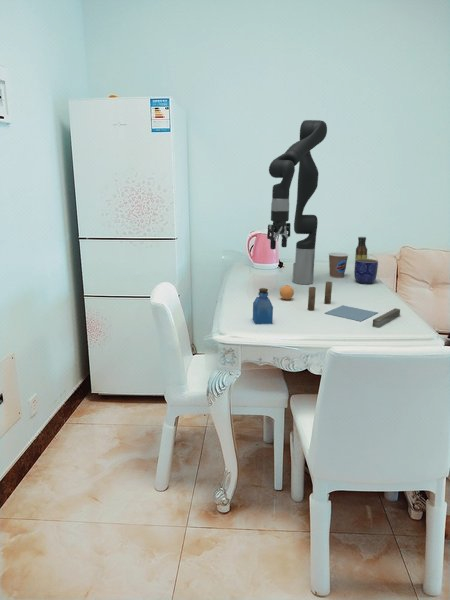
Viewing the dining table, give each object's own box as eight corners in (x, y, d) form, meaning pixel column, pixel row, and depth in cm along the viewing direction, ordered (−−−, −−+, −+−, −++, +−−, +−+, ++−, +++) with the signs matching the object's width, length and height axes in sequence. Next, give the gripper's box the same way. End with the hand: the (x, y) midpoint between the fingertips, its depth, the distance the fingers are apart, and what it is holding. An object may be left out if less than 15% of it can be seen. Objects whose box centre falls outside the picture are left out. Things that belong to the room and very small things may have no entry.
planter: (379, 282, 232) (382, 260, 229) (369, 286, 224) (372, 263, 221) (359, 279, 239) (361, 257, 236) (349, 282, 231) (351, 260, 228)
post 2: (323, 303, 192) (324, 282, 190) (326, 302, 194) (327, 281, 192) (328, 304, 191) (330, 283, 188) (331, 303, 192) (333, 282, 190)
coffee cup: (335, 279, 238) (337, 256, 235) (322, 275, 247) (324, 253, 243) (351, 277, 242) (352, 254, 239) (337, 273, 251) (339, 252, 248)
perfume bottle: (252, 319, 170) (253, 287, 167) (269, 318, 171) (270, 287, 168) (255, 324, 164) (256, 291, 161) (272, 323, 165) (273, 291, 162)
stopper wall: (372, 326, 163) (373, 319, 163) (394, 314, 178) (395, 308, 177) (377, 327, 162) (378, 320, 161) (399, 315, 177) (400, 309, 176)
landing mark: (324, 313, 178) (324, 312, 178) (342, 305, 189) (342, 305, 189) (360, 321, 168) (360, 321, 168) (378, 313, 179) (378, 312, 179)
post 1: (306, 309, 183) (307, 287, 180) (309, 308, 185) (311, 286, 182) (312, 310, 181) (313, 288, 179) (315, 309, 183) (317, 287, 181)
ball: (276, 299, 197) (277, 285, 196) (284, 296, 202) (285, 283, 200) (288, 301, 194) (289, 288, 192) (296, 299, 198) (296, 285, 196)
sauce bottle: (366, 272, 255) (369, 236, 250) (365, 274, 250) (369, 238, 245) (354, 271, 258) (357, 236, 252) (353, 273, 252) (356, 237, 247)
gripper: (281, 208, 202) (280, 245, 206) (263, 209, 191) (261, 249, 195) (296, 209, 197) (294, 247, 201) (278, 210, 186) (276, 250, 190)
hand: (278, 248), depth 198 cm, fingers open, 8 cm apart
